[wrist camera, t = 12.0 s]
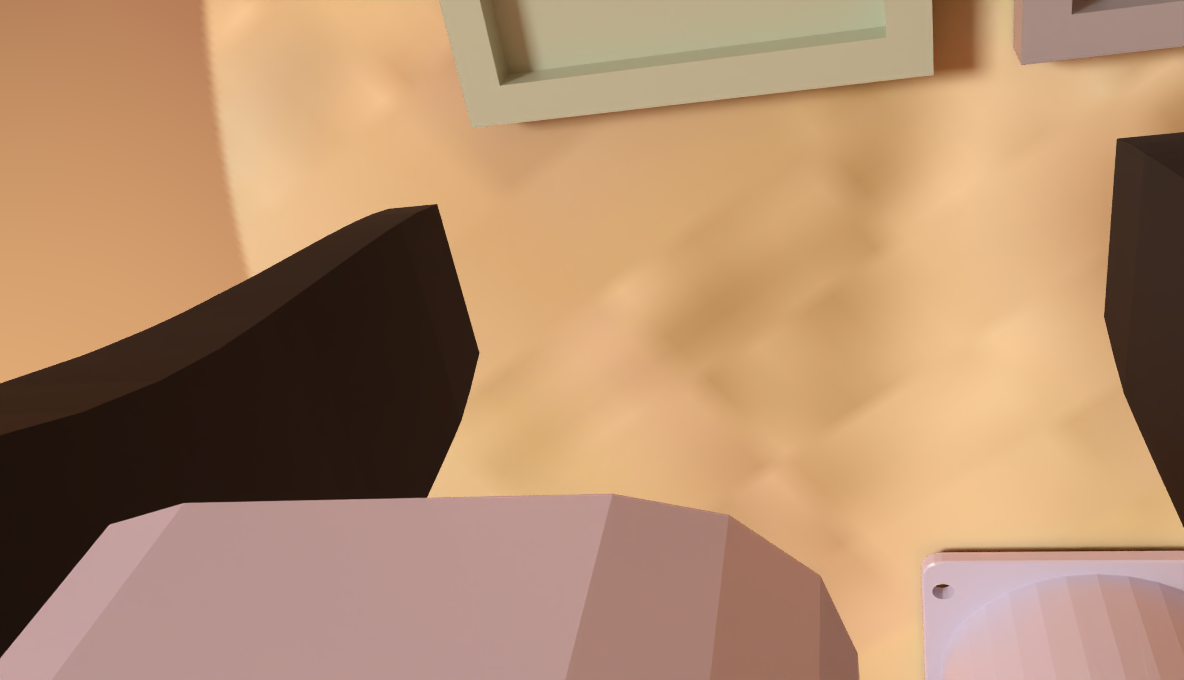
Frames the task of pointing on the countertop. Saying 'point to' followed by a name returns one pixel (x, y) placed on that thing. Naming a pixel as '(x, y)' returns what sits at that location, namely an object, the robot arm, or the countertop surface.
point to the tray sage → (672, 51)
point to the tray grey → (1094, 28)
